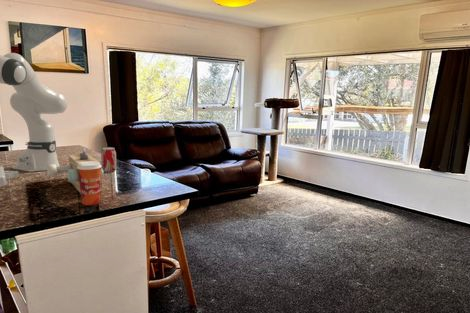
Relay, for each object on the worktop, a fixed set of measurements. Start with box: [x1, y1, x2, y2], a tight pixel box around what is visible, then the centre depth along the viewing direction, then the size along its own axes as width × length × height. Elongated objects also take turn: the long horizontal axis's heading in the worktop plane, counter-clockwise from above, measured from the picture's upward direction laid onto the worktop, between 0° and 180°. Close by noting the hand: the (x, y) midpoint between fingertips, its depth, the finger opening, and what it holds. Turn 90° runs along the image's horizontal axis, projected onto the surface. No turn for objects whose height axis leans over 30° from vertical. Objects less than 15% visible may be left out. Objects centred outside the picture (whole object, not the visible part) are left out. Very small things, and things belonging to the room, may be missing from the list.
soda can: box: [100, 146, 117, 173], centre depth 167 cm, size 7×7×12 cm
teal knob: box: [67, 168, 105, 183], centre depth 134 cm, size 13×5×5 cm, turn 127°
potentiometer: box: [79, 148, 89, 160], centre depth 138 cm, size 3×3×4 cm
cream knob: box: [46, 164, 72, 178], centre depth 141 cm, size 13×5×5 cm, turn 127°
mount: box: [68, 153, 103, 194], centre depth 140 cm, size 8×22×12 cm, turn 37°
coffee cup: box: [77, 161, 102, 206], centre depth 120 cm, size 8×8×15 cm
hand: (18, 173), depth 131 cm, fingers closed
